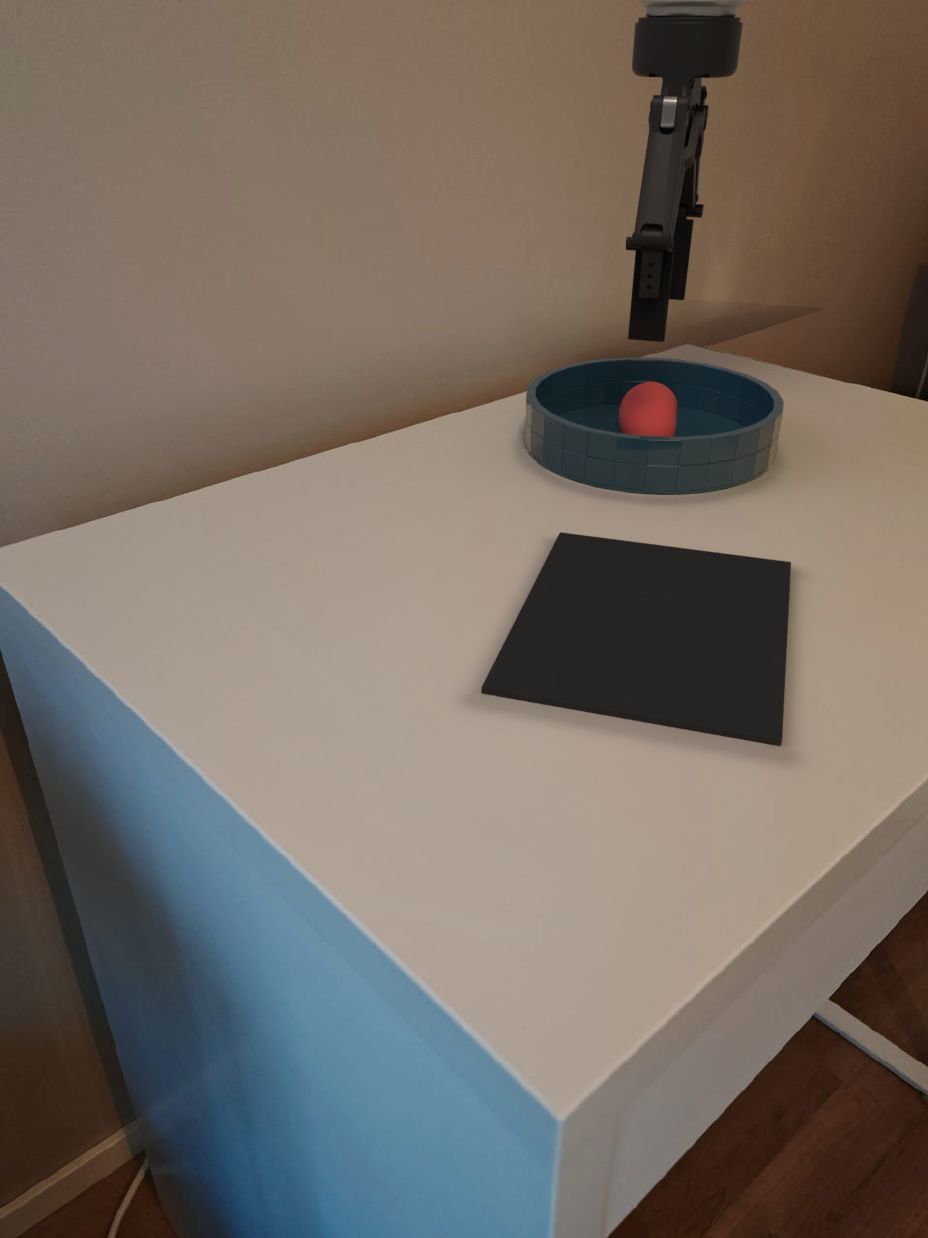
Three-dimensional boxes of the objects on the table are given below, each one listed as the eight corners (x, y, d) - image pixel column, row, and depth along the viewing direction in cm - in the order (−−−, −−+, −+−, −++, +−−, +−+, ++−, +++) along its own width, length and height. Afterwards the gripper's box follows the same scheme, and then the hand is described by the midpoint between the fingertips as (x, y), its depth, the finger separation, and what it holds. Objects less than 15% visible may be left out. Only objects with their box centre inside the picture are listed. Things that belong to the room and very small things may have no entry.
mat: (790, 566, 66) (791, 561, 65) (781, 746, 49) (782, 739, 49) (559, 536, 70) (559, 531, 70) (481, 693, 53) (481, 687, 53)
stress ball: (594, 463, 84) (617, 413, 79) (622, 396, 89) (646, 346, 84) (648, 487, 84) (676, 439, 78) (674, 419, 89) (702, 370, 83)
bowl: (779, 414, 91) (787, 367, 89) (769, 508, 74) (779, 452, 71) (555, 394, 97) (556, 349, 94) (496, 476, 79) (497, 424, 77)
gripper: (659, 13, 79) (635, 281, 90) (605, 10, 59) (583, 355, 70) (753, 13, 77) (717, 286, 89) (731, 10, 57) (687, 365, 68)
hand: (658, 317), depth 79 cm, fingers open, 13 cm apart
